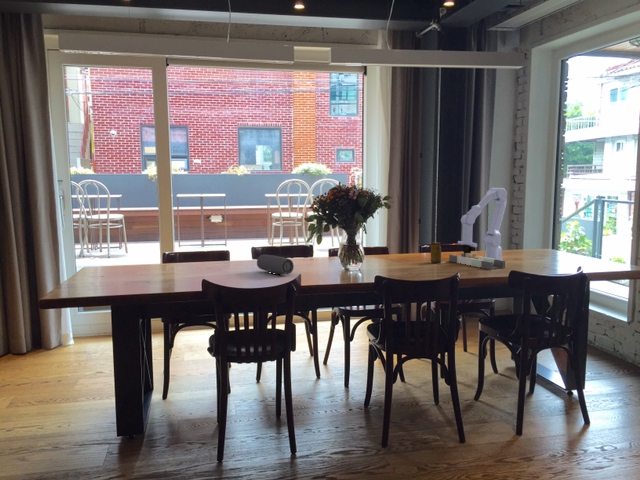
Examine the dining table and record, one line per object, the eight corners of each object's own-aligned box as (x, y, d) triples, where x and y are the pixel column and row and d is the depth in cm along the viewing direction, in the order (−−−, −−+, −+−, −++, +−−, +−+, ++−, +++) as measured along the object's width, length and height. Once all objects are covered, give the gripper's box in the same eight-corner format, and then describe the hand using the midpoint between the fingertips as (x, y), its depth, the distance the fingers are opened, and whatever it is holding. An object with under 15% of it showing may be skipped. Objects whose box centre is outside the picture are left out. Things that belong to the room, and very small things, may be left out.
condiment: (435, 261, 329) (435, 241, 328) (446, 262, 323) (446, 242, 321) (427, 262, 325) (427, 242, 323) (438, 264, 318) (438, 244, 317)
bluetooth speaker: (294, 275, 290) (294, 256, 289) (281, 277, 284) (280, 259, 283) (269, 270, 307) (269, 252, 306) (256, 272, 301) (255, 254, 300)
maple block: (471, 259, 322) (472, 252, 321) (477, 260, 317) (477, 253, 317) (465, 259, 320) (465, 253, 319) (471, 261, 315) (471, 254, 315)
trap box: (463, 259, 333) (463, 253, 333) (505, 267, 303) (505, 260, 302) (449, 261, 328) (449, 254, 328) (490, 269, 298) (490, 262, 298)
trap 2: (493, 266, 308) (493, 265, 308) (502, 268, 302) (502, 267, 302) (483, 267, 305) (483, 266, 305) (492, 269, 299) (492, 268, 299)
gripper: (453, 234, 325) (453, 256, 327) (470, 236, 312) (470, 259, 314) (463, 233, 328) (462, 255, 330) (480, 235, 315) (479, 258, 317)
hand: (467, 257), depth 322 cm, fingers closed
